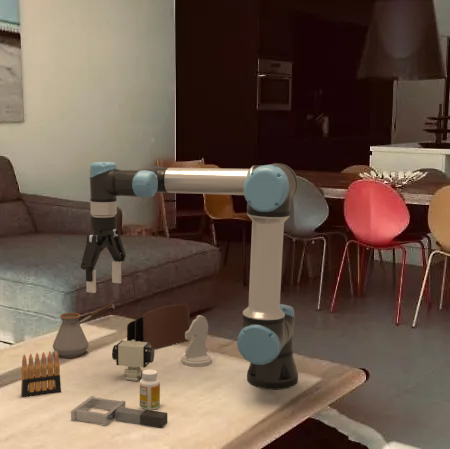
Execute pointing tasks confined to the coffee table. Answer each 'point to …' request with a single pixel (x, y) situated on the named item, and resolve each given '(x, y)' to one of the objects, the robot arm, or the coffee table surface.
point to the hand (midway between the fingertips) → (104, 287)
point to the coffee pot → (73, 334)
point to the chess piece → (197, 344)
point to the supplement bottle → (149, 390)
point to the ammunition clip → (40, 376)
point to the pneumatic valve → (133, 357)
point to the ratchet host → (116, 413)
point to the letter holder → (161, 326)
